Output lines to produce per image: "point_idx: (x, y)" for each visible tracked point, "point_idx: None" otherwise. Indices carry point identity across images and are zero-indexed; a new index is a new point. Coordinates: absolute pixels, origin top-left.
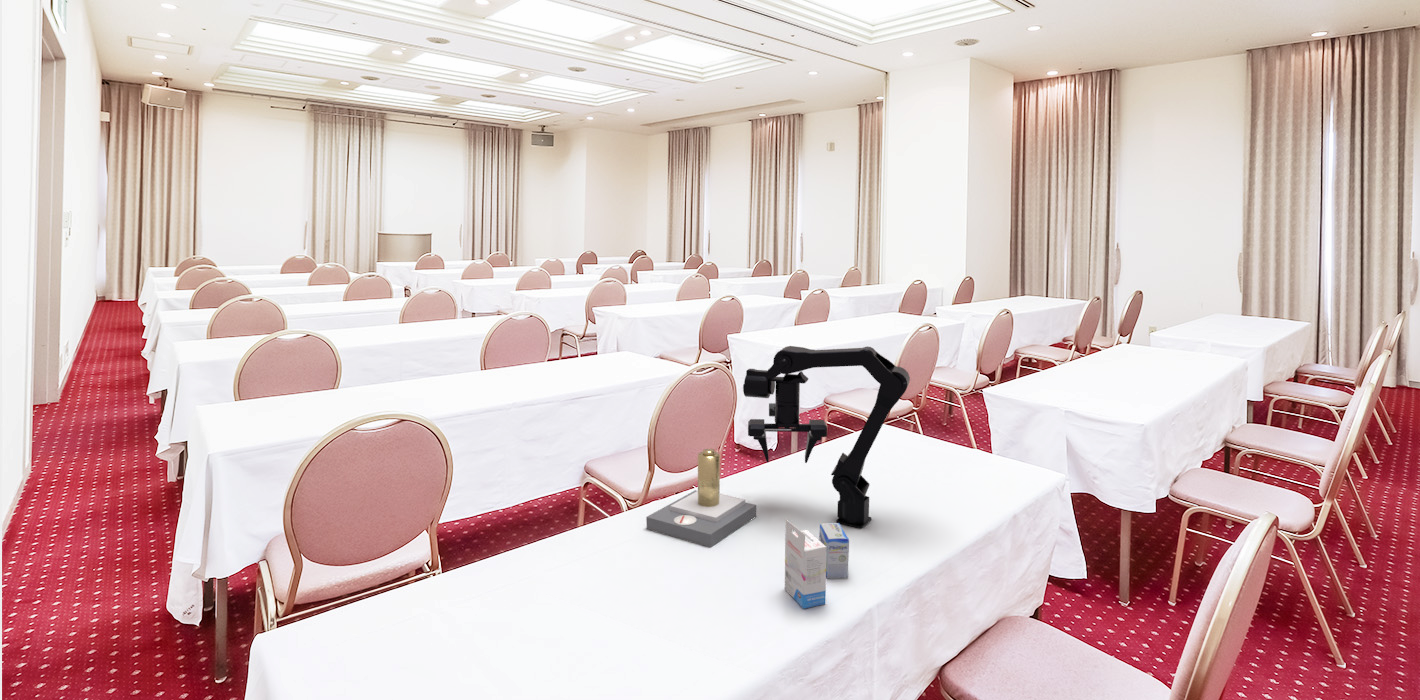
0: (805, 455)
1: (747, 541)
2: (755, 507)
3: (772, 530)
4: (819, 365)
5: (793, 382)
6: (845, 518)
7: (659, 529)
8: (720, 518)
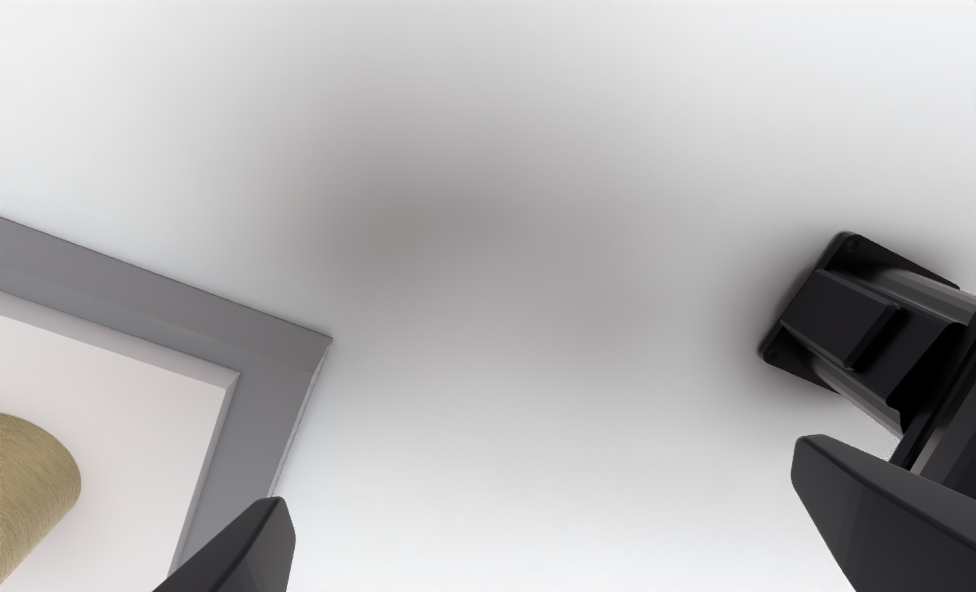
0: (873, 574)
1: (350, 573)
2: (313, 375)
3: (441, 470)
4: None
5: None
6: (818, 374)
7: None
8: None
